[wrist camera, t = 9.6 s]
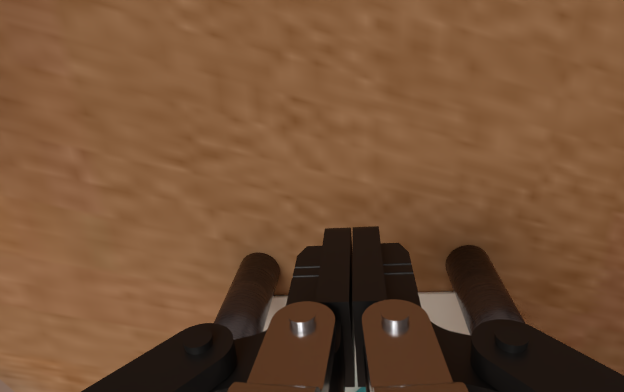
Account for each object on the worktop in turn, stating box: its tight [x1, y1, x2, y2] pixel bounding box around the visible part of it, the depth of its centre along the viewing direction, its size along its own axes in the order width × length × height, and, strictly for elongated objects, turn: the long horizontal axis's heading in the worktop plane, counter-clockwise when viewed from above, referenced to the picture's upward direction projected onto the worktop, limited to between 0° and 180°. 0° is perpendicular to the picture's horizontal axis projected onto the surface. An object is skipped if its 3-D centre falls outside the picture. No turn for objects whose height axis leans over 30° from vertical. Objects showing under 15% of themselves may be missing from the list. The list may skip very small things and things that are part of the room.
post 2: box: [446, 245, 525, 336], centre depth 23 cm, size 3×3×9 cm
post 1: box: [214, 253, 280, 340], centre depth 25 cm, size 3×3×9 cm
